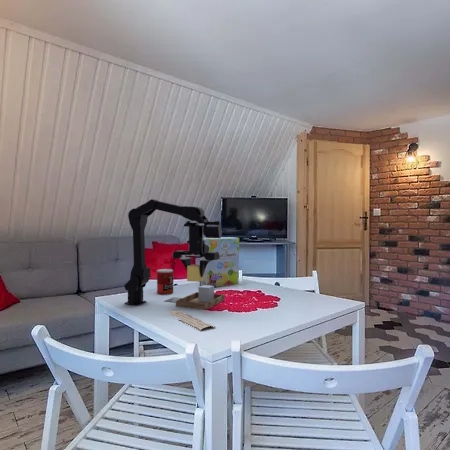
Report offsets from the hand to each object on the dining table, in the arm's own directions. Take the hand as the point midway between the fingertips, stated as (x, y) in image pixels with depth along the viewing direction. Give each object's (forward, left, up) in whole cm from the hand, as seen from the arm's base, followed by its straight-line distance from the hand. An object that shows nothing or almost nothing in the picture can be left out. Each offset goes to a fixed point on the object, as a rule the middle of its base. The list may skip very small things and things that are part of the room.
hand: (195, 276), depth 142 cm
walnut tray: (+5, 0, -12) cm, 13 cm away
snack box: (+47, +10, -13) cm, 50 cm away
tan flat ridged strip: (-17, -7, -13) cm, 23 cm away
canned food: (+18, +26, -13) cm, 34 cm away
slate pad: (+5, +12, -12) cm, 18 cm away
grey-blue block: (+10, 0, -12) cm, 15 cm away
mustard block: (0, 0, -2) cm, 2 cm away
